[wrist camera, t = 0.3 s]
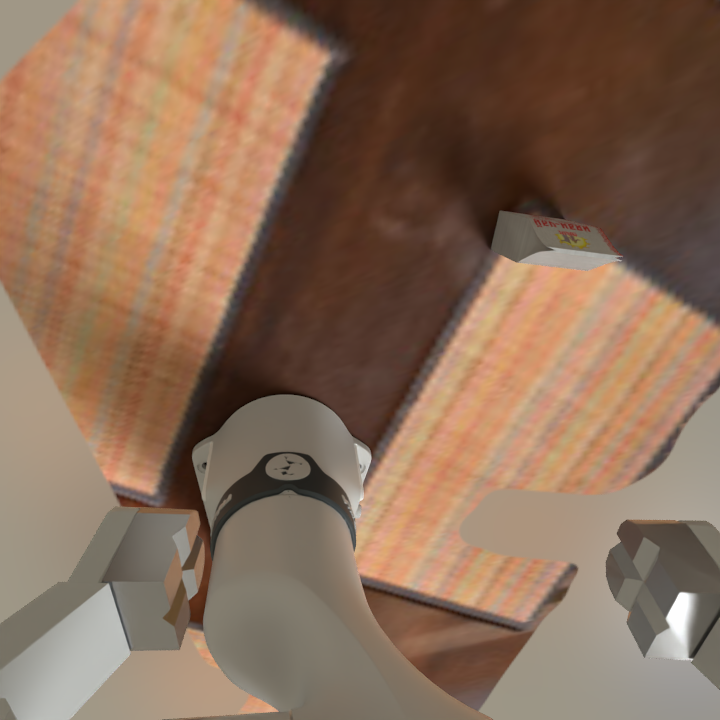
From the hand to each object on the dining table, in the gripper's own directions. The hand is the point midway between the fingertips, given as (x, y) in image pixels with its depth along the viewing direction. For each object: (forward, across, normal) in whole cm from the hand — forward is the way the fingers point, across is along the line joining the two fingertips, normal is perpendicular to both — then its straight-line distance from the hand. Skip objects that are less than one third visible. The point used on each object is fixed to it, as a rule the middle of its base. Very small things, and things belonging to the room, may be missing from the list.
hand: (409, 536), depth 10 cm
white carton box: (+41, +16, -5) cm, 44 cm away
